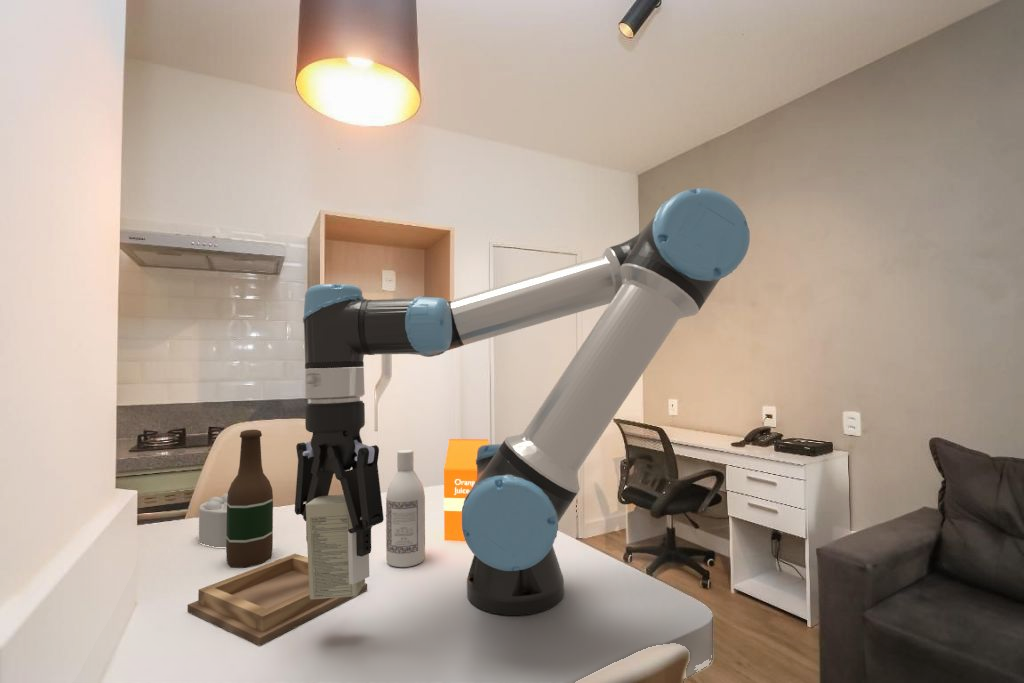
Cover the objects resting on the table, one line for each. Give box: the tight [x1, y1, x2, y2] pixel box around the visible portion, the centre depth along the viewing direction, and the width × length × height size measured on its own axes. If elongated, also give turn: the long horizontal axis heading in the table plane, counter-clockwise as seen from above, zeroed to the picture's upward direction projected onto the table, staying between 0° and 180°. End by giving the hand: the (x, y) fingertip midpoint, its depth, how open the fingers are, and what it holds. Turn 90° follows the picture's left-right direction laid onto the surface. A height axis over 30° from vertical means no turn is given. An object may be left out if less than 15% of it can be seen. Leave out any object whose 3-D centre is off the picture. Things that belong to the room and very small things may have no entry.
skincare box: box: [305, 494, 366, 599], centre depth 65 cm, size 6×4×12 cm
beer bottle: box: [225, 429, 274, 568], centre depth 93 cm, size 8×8×24 cm
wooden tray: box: [187, 553, 368, 647], centre depth 76 cm, size 18×18×3 cm
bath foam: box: [385, 449, 426, 568], centre depth 91 cm, size 7×7×20 cm
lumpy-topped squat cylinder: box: [198, 492, 228, 547], centre depth 105 cm, size 10×13×9 cm
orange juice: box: [443, 438, 490, 542], centre depth 105 cm, size 8×9×20 cm
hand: (338, 573), depth 65 cm, fingers closed on skincare box, 7 cm apart
